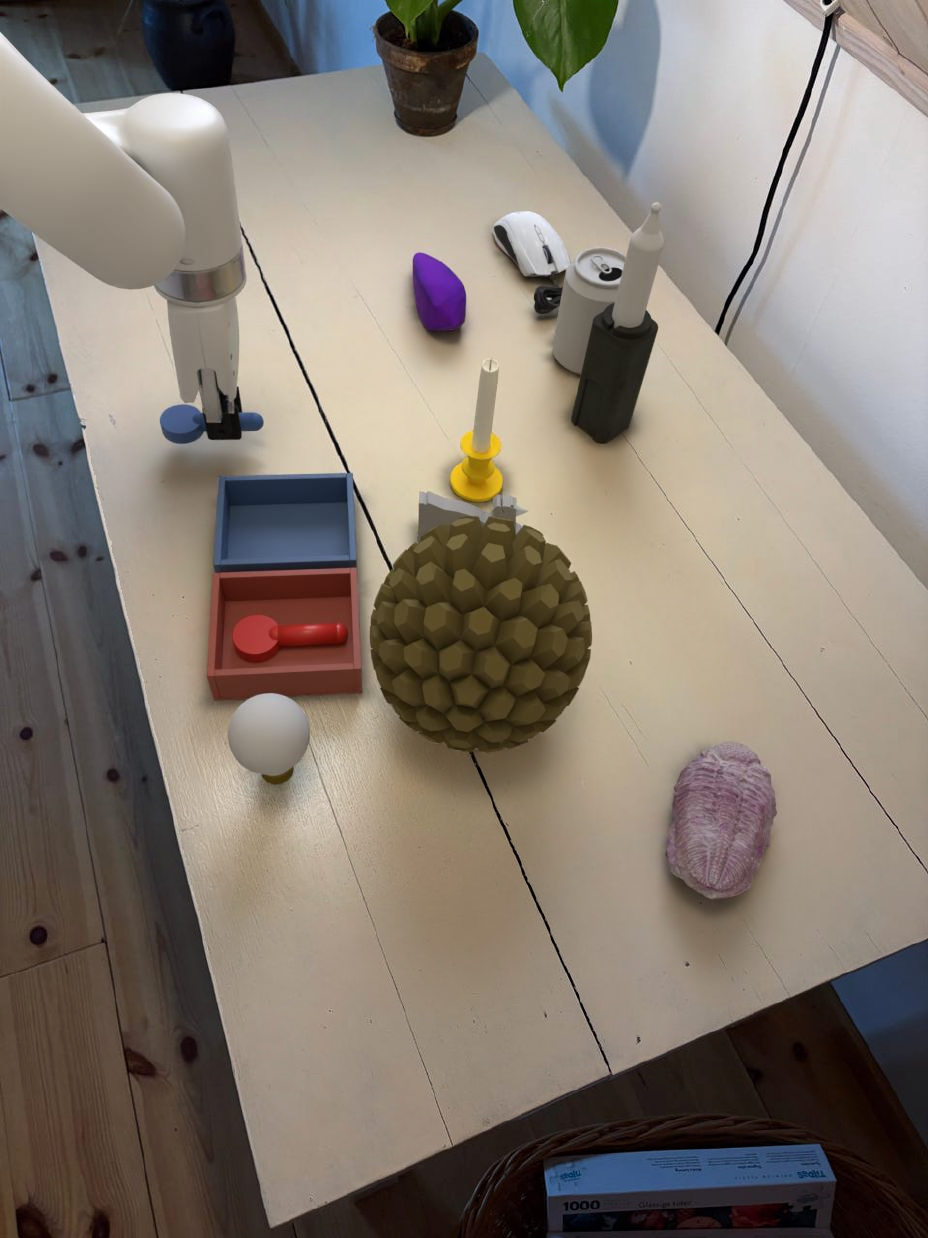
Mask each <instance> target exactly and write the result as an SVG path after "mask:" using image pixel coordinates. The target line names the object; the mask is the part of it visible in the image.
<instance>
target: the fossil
mask: <svg viewBox="0 0 928 1238" xmlns="http://www.w3.org/2000/svg"><path fill="white" fill-rule="evenodd" d="M677 778H678V779H677V781H676V783H675V785H674V786H673V789H674V793H673V794H672V795H673V796H672V800H671V801H672V802H671V807H672V814H673V818H674V819H673V823H672V824H671V825H670V826H669V827H668V829H667V833H668V835H667V839H666V840H667V841H666V850H665V856H666V858H667V861H668V865H669V866H668V867H669V871H670V873H671V874H673V875H674V876H675V877H676V878H679V879H681V880H683V882H684V883H685V885H687V886H688V887H689V888H691V889H693V890H695V891H696V892H697V893H698V894H701V895H703V896H704V897H705V898H708V899H711V900H713V901H720V900H723V899H726V898H731V897H736V896H739V895H740V896H741V894H743V893H745V892H746V891H747V890H749V889H752V888H751V885H752V884H753V883H754V881H755V874H757V872H758V871H759V868H760V865H761V863H762V860H763V858H764V853H765V851H764V850H765V849H766V848H769V847H771V831H772V828H773V825H774V821H775V820H774V819H775V817H776V816H777V815H778V810H777V801H776V796H775V795H776V794H775V790H774V787H773V786H772V774H771V773H770V771H769V770H768V768H767V767H766V766H764V765H763V764H762V763H761V759H760V758H759V757H758V755H757V753H755V751H754V750H752V749H751V748H749V747H748V746H747V745H745V744H743V743H739V742H736V741H727V742H722V743H719V744H715V745H714V747H712V748H709V749H707V748H706V749H704V750H701V752H700V753H699V754H698V755H696V756H694V757H693V758H692V759H691V760H690V761H689V762H688V763H687V764H686V765H685V767H683V769H682V770H681V771H680V773H679V775H678V777H677Z"/></svg>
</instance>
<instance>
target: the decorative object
mask: <svg viewBox="0 0 928 1238" xmlns="http://www.w3.org/2000/svg"><path fill="white" fill-rule="evenodd" d="M571 565H572V562H571V560H570V559H569V557H568V556H567V555H566V554H565V553H564V551H562V549H561V548H560V547H559V546H558V545H557V544H552V543H549V542H547V540H546V538H545V537H544V534H543V533H542V532H541V531H540V530H538V529H535V528H534V527H532V526H529V525H526V524H523V525H521V529H520V530H519V531H518V533H517V534H516V533H515V526H514V521H513V520H509V519H505V518H499V517H491V516H489V517H488V519H487V521H486V522H485V524H484V526H483V528H482V525H481V522H480V519H479V517H477V516H468V517H461V518H459V519H457V520H456V521H455V522H453V523H452V524H451V525H443V526H442V525H441V524H440V525H438V526H436V527H435V528H433V529H431V530H430V531H428V532H426V533H425V534H423V535H422V536H421V542H414V543H412V544H411V545H410V546H409V547H408V548H407V549H404V551H403V552H401V554H400V555H399V556H398V557H397V558H396V559H395V561H394V562H393V564H392V568H391V569H390V571H389V572H388V574H386V576H385V579H384V581H383V583H381V584H380V586H379V589H378V592H377V594H376V596H375V599H374V602H373V607H374V608H373V609H372V612H371V615H370V626H369V646H370V648H371V649H370V657H371V662H372V667H373V670H374V672H375V676H376V680H377V682H378V684H379V686H380V687H379V690H380V692H381V693H382V696H383V697H384V699H385V701H386V703H387V704H388V705H389V704H390V705H391V707H392V709H393V711H394V713H396V715H398V719H399V720H400V721H402V722H403V724H404V725H405V726H407V727H408V728H409V729H410V730H412V731H413V732H417V733H418V735H419V736H421V737H422V738H423V739H424V740H426V741H428V742H430V743H433V744H437V745H438V744H442V743H444V744H445V746H446V748H447V749H450V750H454V751H459V752H464V753H465V752H466V753H473V752H474V751H475V750H478V751H479V752H481V753H486V754H493V753H496V752H500V751H503V750H504V749H507V750H511V749H514V748H517V747H519V746H522V745H524V744H526V743H528V742H529V740H531V739H533V738H535V737H536V736H538V735H539V734H540V733H545V732H546V731H548V729H550V728H551V727H552V726H553V725H554V724H555V723H556V722H557V720H556V719H558V718H559V717H560V716H561V715H562V714H563V712H564V711H565V709H566V707H570V704H571V703H572V701H573V700H574V698H575V697H576V695H577V693H578V691H579V690H580V686H581V683H582V682H583V680H584V679H585V675H586V672H587V669H588V666H589V663H590V660H591V655H592V648H591V646H592V644H593V628H592V621H591V612H590V608H589V604H587V603H588V602H589V601H588V597H587V593H586V590H585V588H584V585H583V583H582V581H581V580H580V578H579V576H578V574H577V572H576V571H575V570H574V571H572V572H571V570H570V567H571Z"/></svg>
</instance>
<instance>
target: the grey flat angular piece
mask: <svg viewBox="0 0 928 1238" xmlns="http://www.w3.org/2000/svg"><path fill="white" fill-rule="evenodd" d="M418 493H419V494H418V519H417V520H418V522H417V523H418V525H417V543H420V542H421V536H422V535H423V534H425V533H426V532H428V531H430V530H431V529H433V528H435V527H436V526H438V525H440V524H441V525H442V526H443V525H451V524H452V523H453V522H455V521H456V520H457V519H459V518H461V517H468V516H477V517H479V519H480V522H481V525H482V528H483V526H484V524H485V522H486V521H487V519H488V517H489V516H491V517H499V518H505V519H509V520H513V521H514V526H515V533H516V534H517V533H518V531H519V530H520V529H521V528H522V525H521V524H520V523H518V522H517V517H519V516H522V515H524V514H526V513H529V512H530V511H528V510H527V509H524V508H523V507H521V506H519V505H517V497H515V496H511V494H497V495H496V496H495V497H494V498H493V499H492V509H491V511H490V512H486V511H484V510H483V509H481V508H480V507H477V506H475V505H474V504H471V503H468V502H465V501H462V500H458V499H453V498H447V497H443V496H441V495H438V494H437V493H435V492H431V491H429V490H428V491H427V492H425V491H419V492H418Z"/></svg>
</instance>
